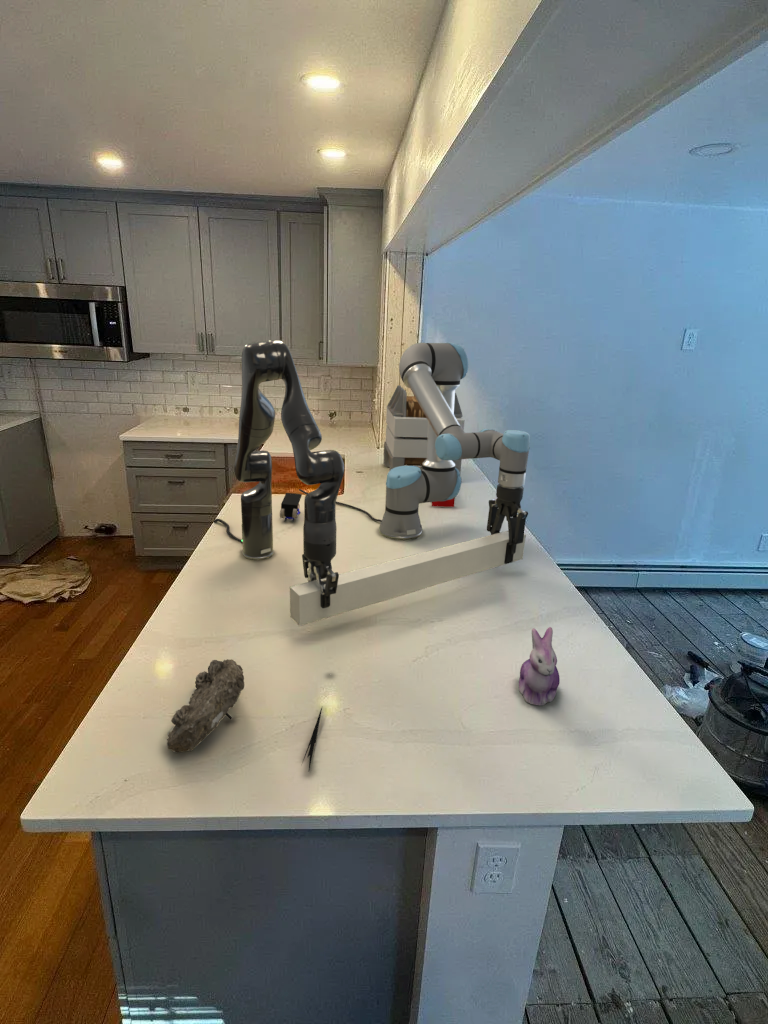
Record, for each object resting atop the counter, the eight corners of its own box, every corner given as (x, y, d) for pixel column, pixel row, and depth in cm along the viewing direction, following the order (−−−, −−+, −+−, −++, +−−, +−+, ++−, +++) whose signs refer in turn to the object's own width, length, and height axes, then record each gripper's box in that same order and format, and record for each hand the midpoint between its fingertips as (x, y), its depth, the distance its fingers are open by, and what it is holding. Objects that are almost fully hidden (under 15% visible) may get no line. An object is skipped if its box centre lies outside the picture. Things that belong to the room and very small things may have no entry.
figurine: (537, 713, 113) (548, 649, 108) (505, 684, 121) (513, 623, 116) (572, 701, 117) (584, 638, 112) (538, 673, 125) (548, 613, 120)
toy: (449, 465, 254) (460, 474, 224) (447, 494, 256) (458, 508, 227) (422, 464, 253) (429, 474, 224) (421, 494, 256) (428, 507, 227)
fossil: (192, 660, 117) (244, 628, 112) (224, 691, 120) (276, 661, 115) (142, 746, 98) (202, 712, 93) (182, 779, 101) (242, 748, 96)
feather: (331, 679, 122) (336, 673, 122) (307, 777, 96) (313, 769, 95) (324, 675, 122) (329, 669, 121) (298, 772, 95) (304, 764, 95)
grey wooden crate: (382, 463, 289) (386, 382, 275) (445, 464, 293) (451, 384, 279) (390, 482, 257) (394, 392, 243) (460, 483, 261) (468, 394, 247)
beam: (510, 553, 176) (513, 529, 173) (522, 559, 172) (526, 534, 169) (290, 616, 135) (289, 586, 132) (299, 626, 131) (299, 595, 129)
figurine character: (298, 528, 204) (302, 509, 218) (297, 509, 201) (302, 491, 214) (279, 527, 204) (285, 509, 217) (278, 508, 201) (284, 491, 214)
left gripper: (291, 529, 133) (292, 593, 139) (320, 551, 122) (320, 619, 128) (319, 523, 137) (319, 586, 143) (350, 544, 126) (348, 611, 132)
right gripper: (479, 478, 167) (471, 550, 175) (525, 496, 153) (515, 573, 161) (497, 475, 171) (489, 546, 179) (544, 492, 157) (532, 567, 165)
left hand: (319, 601), depth 136 cm, fingers closed on beam, 5 cm apart
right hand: (501, 558), depth 170 cm, fingers closed on beam, 5 cm apart
